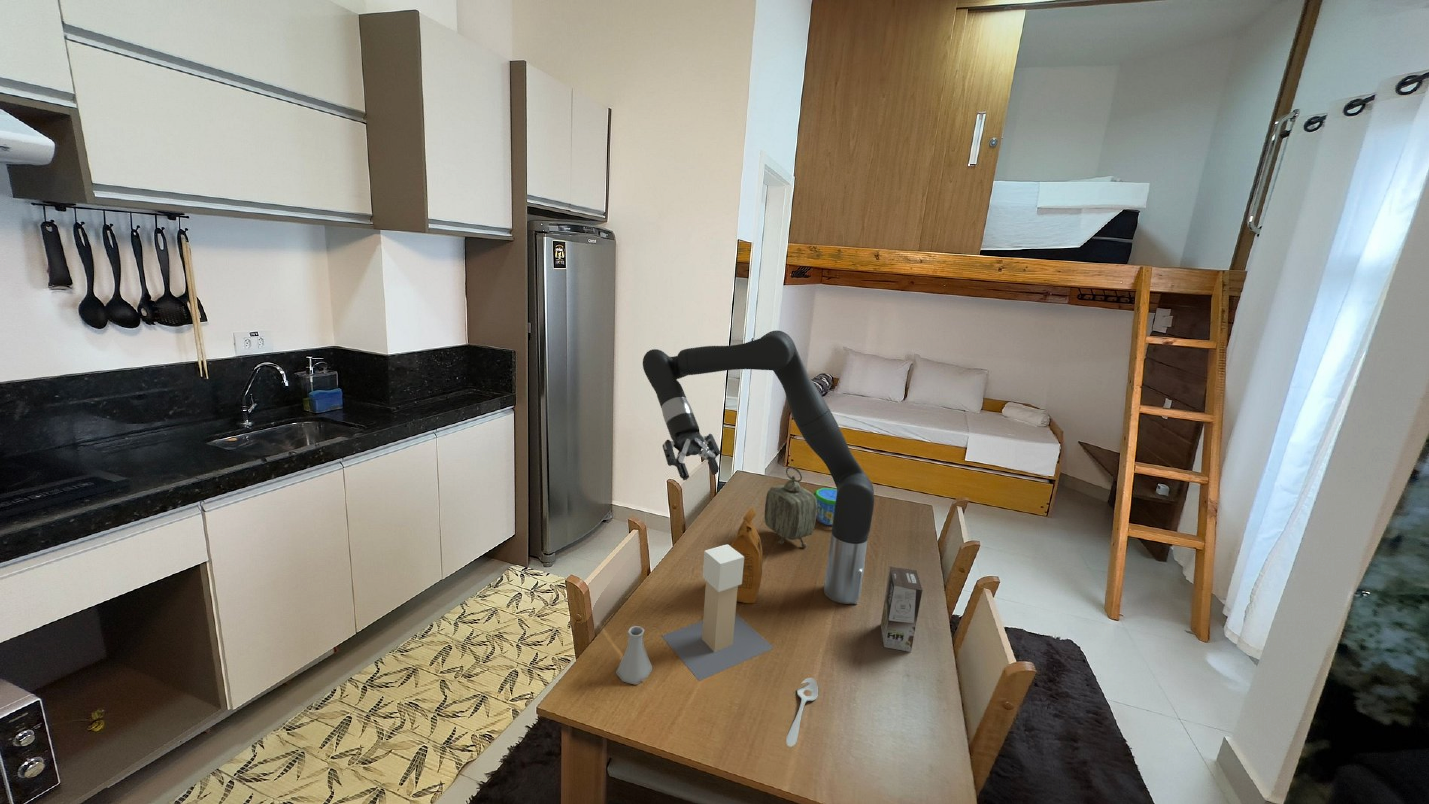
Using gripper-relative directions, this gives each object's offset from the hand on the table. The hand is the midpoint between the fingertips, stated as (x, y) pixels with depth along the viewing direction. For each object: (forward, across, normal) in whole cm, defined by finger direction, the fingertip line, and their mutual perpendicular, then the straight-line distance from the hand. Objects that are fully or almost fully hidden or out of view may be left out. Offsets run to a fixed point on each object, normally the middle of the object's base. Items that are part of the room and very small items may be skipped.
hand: (701, 476), depth 136 cm
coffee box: (+50, +33, -4) cm, 60 cm away
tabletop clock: (+17, +40, +30) cm, 53 cm away
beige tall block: (+36, -6, +9) cm, 38 cm away
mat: (+37, -6, +10) cm, 38 cm away
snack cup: (+14, +63, +33) cm, 73 cm away
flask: (+36, -26, +11) cm, 45 cm away
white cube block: (+25, -6, -2) cm, 26 cm away
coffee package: (+27, +12, +19) cm, 35 cm away
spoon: (+55, -4, -8) cm, 55 cm away
